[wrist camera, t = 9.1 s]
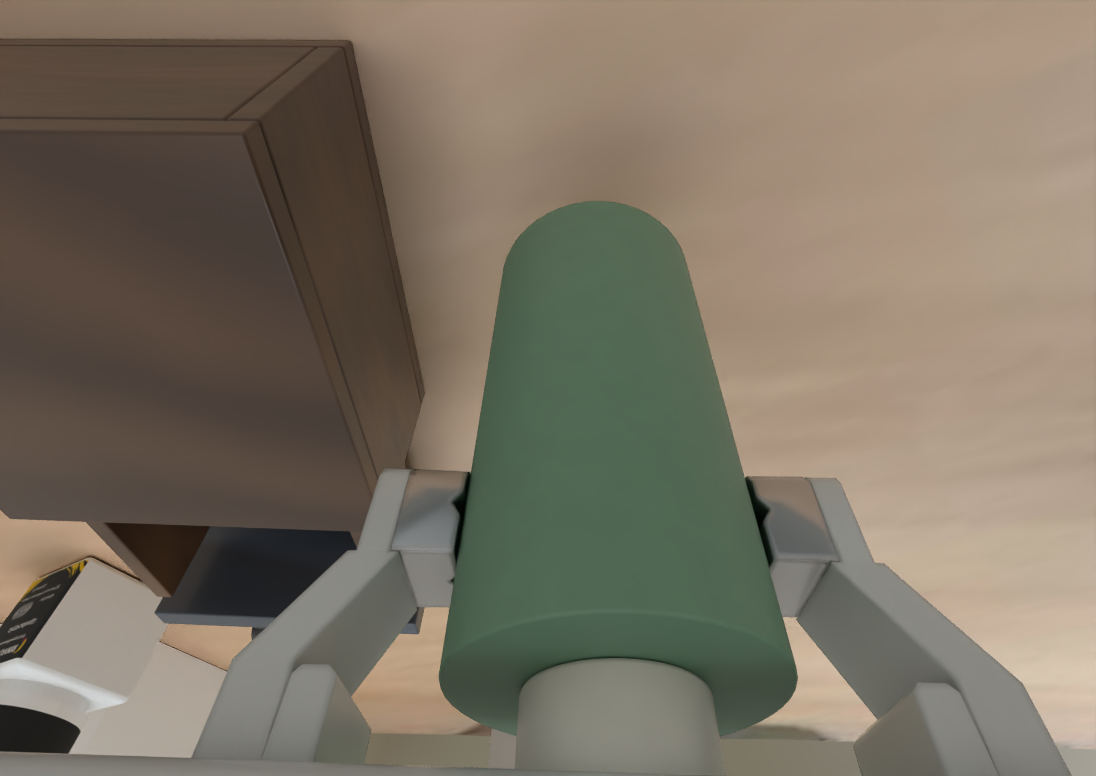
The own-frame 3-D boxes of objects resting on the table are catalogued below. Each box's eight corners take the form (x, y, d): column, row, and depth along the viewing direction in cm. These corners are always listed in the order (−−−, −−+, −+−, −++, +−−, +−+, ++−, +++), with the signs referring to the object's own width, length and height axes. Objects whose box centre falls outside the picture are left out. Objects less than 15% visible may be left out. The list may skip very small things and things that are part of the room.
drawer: (448, 572, 37) (430, 667, 33) (240, 564, 38) (196, 656, 33) (397, 360, 25) (358, 466, 21) (92, 352, 25) (-6, 454, 21)
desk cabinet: (425, 393, 28) (384, 533, 22) (123, 385, 28) (9, 519, 23) (351, 39, 18) (244, 133, 12) (-116, 37, 18) (-425, 126, 13)
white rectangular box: (277, 721, 62) (235, 843, 54) (-51, 648, 52) (-157, 785, 44) (319, 680, 53) (276, 818, 46) (-65, 582, 43) (-200, 738, 36)
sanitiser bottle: (702, 201, 14) (938, 851, 5) (673, 358, 17) (783, 919, 8) (496, 199, 14) (363, 831, 5) (506, 356, 17) (438, 905, 8)
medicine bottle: (90, 554, 39) (-52, 759, 31) (182, 600, 43) (81, 793, 35) (34, 577, 42) (-111, 772, 33) (126, 619, 46) (19, 802, 37)
